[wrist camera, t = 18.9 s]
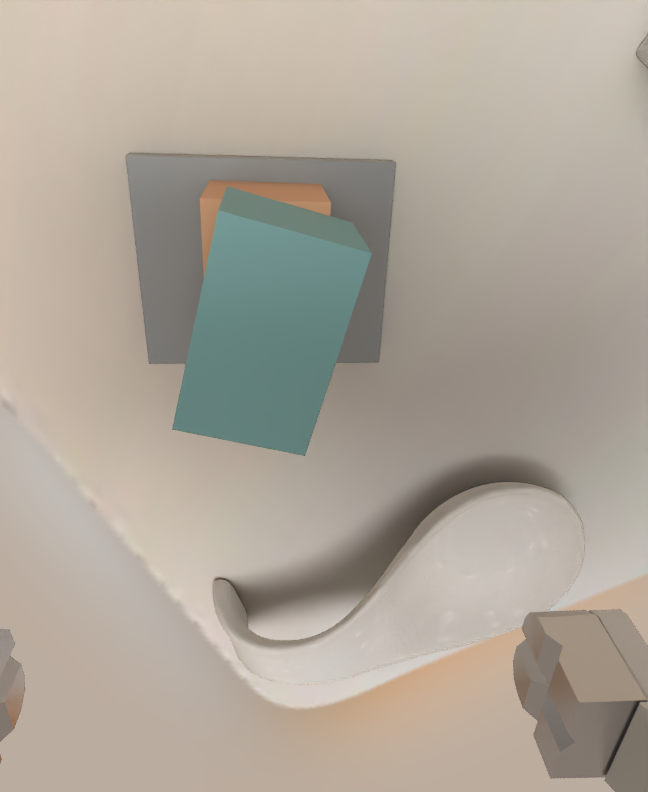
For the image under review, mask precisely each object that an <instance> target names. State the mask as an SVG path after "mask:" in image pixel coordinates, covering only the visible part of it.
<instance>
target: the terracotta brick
mask: <svg viewBox="0 0 648 792" xmlns="http://www.w3.org/2000/svg"><path fill="white" fill-rule="evenodd" d="M227 186H228V187H232V188H235V189H239V190H242V191H245V192H249V193H252V194H256V195H259V196H263V197H266V198H270V199H273V200H276V201H280V202H283V203H287V204H290V205H294V206H297V207H301V208H304V209H308V210H311V211H314V212H318V213H321V214H325V215H328V216H330V214H331V201H330V200H329V198H328V196H327V194H326V192H325V191H324V189H323V187H322V185H321V184H311V183H282V182H253V181H223V180H210V181H209V183H208V185H207V186H206V188H205V190H204V192H203V193H202V195H201V197H200V214H201V234H202V253H203V273H204V276H205V271H206V266H207V261H208V256H209V252H210V247H211V242H212V237H213V233H214V228H215V223H216V218H217V213H218V209H219V207H220V204H221V201H222V198H223V196H224V193H225V190H226V187H227Z"/></svg>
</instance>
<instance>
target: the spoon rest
mask: <svg viewBox="0 0 648 792" xmlns="http://www.w3.org/2000/svg"><path fill="white" fill-rule="evenodd" d="M584 551H585V535H584V528H583V524H582V521H581V518H580V516H579V515H578V513H577V511H576V510H575V508H574V507H573V506H572V505H571V504H570V502H569V501H568V500H566V499H565V498H564V497H563V496H561V495H560V494H558V493H556V492H555V491H552V490H550V489H547V488H544V487H541V486H537V485H532V484H527V483H519V482H499V483H491V484H486V485H481V486H478V487H474V488H471V489H469V490H466V491H464V492H462V493H460V494H458V495H456V496H454V497H452V498H450V499H448V500H447V501H445V502H444V503H443V504H441V505H440V506H438V507H437V508H436V509H434V510H433V511H432V512H431V513H430V514H429V515H428V516H427V517H426V518H425V519H424V520H423V521H422V522H421V523H420V524H419V526H418V527H417V528H416V529H415V531H414V532H413V534H412V535H411V536H410V538H409V539H408V540H407V542H406V543H405V545H404V546H403V547H402V548H401V550H400V551H399V552H398V554H397V555H396V556H395V558H394V559H393V561H392V562H391V563H390V565H389V566H388V568H387V569H386V570H385V572H384V573H383V575H382V576H381V577H380V579H379V580H378V581H377V583H376V584H375V585H374V587H373V588H372V589H371V590H370V591H369V593H368V594H367V595H366V596H365V597H364V598H363V600H362V601H361V602H360V603H359V604H358V605H357V606H356V607H355V608H354V609H353V610H352V611H351V612H350V613H349V614H348V615H347V616H346V617H345V618H344V619H342V620H341V621H340V622H339V623H337V624H336V625H335V626H333V627H332V628H330V629H328V630H326V631H324V632H322V633H320V634H318V635H315V636H312V637H309V638H305V639H300V640H283V641H280V640H271V639H267V638H263V637H260V636H259V635H257V634H255V633H253V632H252V631H251V630H249V629H248V619H247V614H246V611H245V609H244V606H243V604H242V602H241V601H240V599H239V597H238V595H237V593H236V591H235V590H234V588H233V587H232V585H231V584H230V583H229V582H228V581H226V580H221V579H219V580H216V581H214V583H213V602H214V607H215V612H216V614H217V617H218V619H219V621H220V623H221V625H222V627H223V629H224V630H225V632H226V633H227V635H228V636H229V638H230V640H231V642H232V644H233V646H234V649H235V651H236V653H237V656H238V658H239V660H240V661H241V662H242V664H243V665H244V666H245V667H246V668H247V669H248V670H249V671H250V672H252V673H253V674H255V675H257V676H259V677H261V678H264V679H267V680H270V681H275V682H280V683H286V684H299V685H310V684H322V683H329V682H334V681H339V680H344V679H347V678H351V677H354V676H357V675H360V674H363V673H366V672H369V671H372V670H375V669H379V668H382V667H385V666H388V665H391V664H394V663H397V662H401V661H404V660H408V659H411V658H415V657H418V656H422V655H426V654H430V653H434V652H438V651H442V650H446V649H450V648H454V647H459V646H463V645H467V644H470V643H474V642H477V641H481V640H486V639H489V638H492V637H496V636H499V635H501V634H504V633H507V632H510V631H513V630H515V629H517V628H519V627H521V626H523V622H524V619H525V617H526V616H527V615H528V614H529V613H530V612H546V611H547V610H549V609H550V608H551V607H552V606H553V605H555V604H556V603H557V602H558V601H559V600H560V599H561V598H562V597H563V596H564V595H565V593H566V592H567V591H568V590H569V588H570V587H571V585H572V584H573V582H574V581H575V579H576V577H577V575H578V573H579V571H580V568H581V565H582V562H583V558H584Z"/></svg>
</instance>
